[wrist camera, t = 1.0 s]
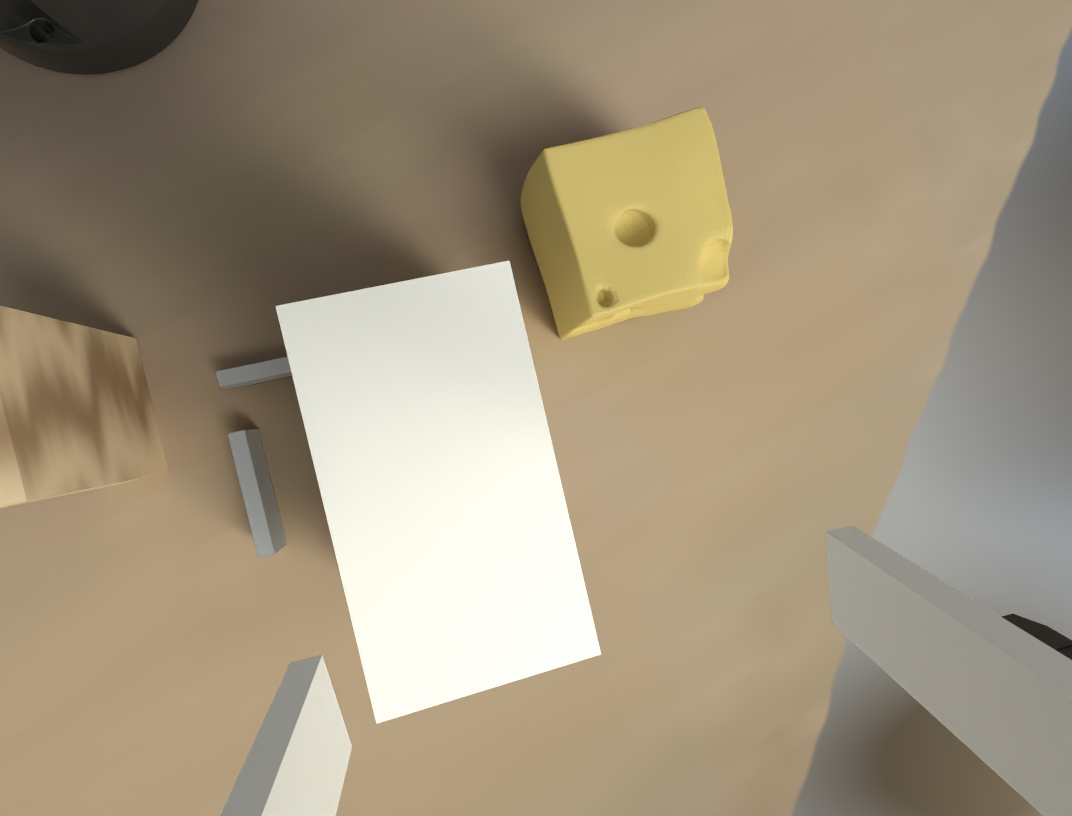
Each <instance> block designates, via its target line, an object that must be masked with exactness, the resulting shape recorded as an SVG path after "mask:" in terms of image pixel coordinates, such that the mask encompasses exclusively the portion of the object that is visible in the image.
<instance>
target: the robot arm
mask: <svg viewBox="0 0 1072 816" xmlns="http://www.w3.org/2000/svg"><path fill="white" fill-rule="evenodd" d="M197 1H198V0H0V47H1V48H2V49H4V50H5V51H7V52H9V53H10V54H12V55H14V56H16V57H18V58H20V59H22V60H24V61H26V62H29V63H31V64H34V65H37V66H40V67H43V68H46V69H50V70H54V71H59V72H65V73H74V74H98V73H107V72H113V71H117V70H122V69H125V68H128V67H131V66H134V65H136V64H139V63H141V62H143V61H145V60H147V59H149V58H151V57H152V56H154V55H156V54H157V53H159V52H160V51H161V50H163V49H164V48H165V47H166V46H168V45H169V44H170V43H171V42H172V41H173V40H174V39H175V38H176V37H177V36H178V35H179V33H180V32H181V31H182V30H183V28H184V27H185V26H186V24H187V22H188V21H189V19H190V17H191V15H192V13H193V11H194V9H195V6H196V4H197ZM826 540H827V557H828V573H829V589H830V606H831V622H832V624H834V625H835V626H836V627H837V628H838V629H839V630H840V631H841V632H842V633H843V634H845V635H846V636H847V637H848V638H849V639H850V640H851V641H852V642H853V643H854V644H856V645H857V646H858V647H859V648H860V649H861V650H862V651H863V652H864V653H865V654H866V655H868V656H869V657H870V658H871V659H872V660H873V661H874V662H875V663H876V664H878V665H879V666H880V667H881V668H882V669H883V670H884V671H885V672H886V673H887V674H889V675H890V676H891V677H892V678H893V679H894V680H895V681H896V682H897V683H898V684H899V685H900V686H902V687H903V688H904V689H905V690H906V691H907V692H908V693H909V694H910V695H911V696H913V697H914V698H915V699H916V700H917V701H918V702H919V703H921V705H922V706H924V707H925V708H926V709H927V710H928V711H929V712H930V713H931V714H932V715H933V716H935V717H936V718H937V719H938V720H939V721H940V722H941V723H942V724H943V725H944V726H945V727H947V728H948V729H949V730H950V731H951V732H952V733H953V734H954V735H955V736H956V737H957V738H959V739H960V740H961V741H962V742H963V743H964V744H965V745H966V746H967V747H968V748H970V749H971V750H972V751H973V752H974V753H975V754H976V755H977V756H978V757H979V758H981V759H982V760H983V761H984V762H985V763H986V764H987V765H988V766H989V767H990V768H992V769H993V770H994V771H995V772H996V773H997V774H998V775H999V776H1000V777H1001V778H1003V779H1004V780H1005V781H1006V782H1007V783H1008V784H1009V785H1010V786H1011V787H1013V789H1014V790H1016V791H1017V792H1018V793H1019V794H1020V795H1021V796H1022V797H1023V798H1024V799H1026V800H1027V801H1028V802H1029V803H1030V804H1031V805H1032V806H1033V807H1034V808H1035V809H1036V810H1038V811H1039V812H1040V813H1041V814H1042V815H1043V816H1072V640H1070V639H1068V638H1067V637H1065V636H1063V635H1061V634H1060V633H1058V632H1056V631H1055V630H1052V629H1051V628H1049V627H1047V626H1045V625H1042V624H1040V623H1037V622H1034V621H1031V620H1029V619H1026V618H1023V617H1020V616H1018V615H1015V614H1010V615H1006V616H1003V617H1001V616H999V615H997V614H996V613H994V612H993V611H991V610H989V609H988V608H986V607H984V606H983V605H981V604H980V603H978V602H976V601H975V600H973V599H971V598H970V597H968V596H967V595H965V594H963V593H961V592H960V591H958V590H956V589H955V588H954V587H952V586H950V585H949V584H947V583H945V582H944V581H942V580H941V579H939V578H937V577H935V576H934V575H932V574H931V573H929V572H927V571H926V570H924V569H922V568H921V567H919V566H918V565H916V564H914V563H913V562H911V561H910V560H908V559H906V558H905V557H903V556H901V555H900V554H898V553H897V552H895V551H893V550H892V549H890V548H888V547H887V546H885V545H884V544H882V543H880V542H879V541H877V540H875V539H874V538H872V537H871V536H869V535H867V534H866V533H864V532H862V531H861V530H859V529H857V528H856V527H854V526H850V527H846V528H842V529H837V530H833V531H829V532H826ZM351 749H352V745H351V742H350V739H349V736H348V733H347V730H346V727H345V724H344V721H343V718H342V715H341V711H340V708H339V705H338V702H337V699H336V696H335V693H334V690H333V687H332V684H331V681H330V678H329V674H328V671H327V668H326V665H325V662H324V659H323V656H322V655H320V656H316V657H312V658H308V659H304V660H300V661H296V662H291V663H290V664H289V666H288V669H287V671H286V673H285V675H284V677H283V680H282V682H281V684H280V686H279V688H278V691H277V693H276V695H275V697H274V699H273V702H272V704H271V706H270V708H269V710H268V713H267V715H266V717H265V719H264V721H263V724H262V726H261V728H260V730H259V732H258V735H257V737H256V739H255V741H254V743H253V746H252V748H251V750H250V752H249V754H248V757H247V759H246V761H245V763H244V765H243V768H242V770H241V772H240V774H239V776H238V779H237V781H236V783H235V785H234V787H233V790H232V792H231V794H230V796H229V798H228V801H227V803H226V805H225V807H224V809H223V812H222V814H221V816H336V812H337V808H338V804H339V799H340V795H341V791H342V787H343V783H344V778H345V774H346V770H347V766H348V762H349V757H350V753H351Z"/></svg>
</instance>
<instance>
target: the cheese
mask: <svg viewBox="0 0 1072 816" xmlns="http://www.w3.org/2000/svg"><path fill="white" fill-rule="evenodd" d="M521 210H522V214H523V218H524V222H525V226H526V229H527V233H528V236H529V240H530V243H531V246H532V249H533V252H534V255H535V258H536V260H537V263H538V266H539V269H540V272H541V275H542V278H543V281H544V284H545V287H546V290H547V294H548V297H549V301H550V304H551V308H552V312H553V315H554V319H555V323H556V327H557V330H558V334H559V337H560V339H567V338H570V337H573V336H577V335H580V334H584V333H587V332H590V331H594V330H597V329H600V328H604V327H607V326H610V325H613V324H615V323H618V322H621V321H623V320H626V319H630V318H634V317H639V316H640V317H644V316H649V315H653V314H658V313H662V312H668V311H673V310H679V309H684V308H689V307H692V306H695V305H697V304H698V303H700V302H701V301H702V300H703V299H704V294H706V293H710V292H714V291H716V290H719V289H721V288H723V287H724V286H725V285H726V284H727V282H728V279H729V270H728V254H729V250H730V246H731V241H732V237H733V224H732V216H731V211H730V207H729V203H728V198H727V193H726V188H725V183H724V178H723V173H722V167H721V162H720V157H719V152H718V147H717V142H716V138H715V134H714V131H713V127H712V124H711V122H710V119H709V117H708V114H707V112H706V110H705V108H704V107H698V108H694V109H691V110H688V111H685V112H682V113H679V114H677V115H674V116H671V117H668V118H666V119H663V120H660V121H657V122H654V123H651V124H648V125H645V126H641V127H637V128H633V129H628V130H624V131H620V132H616V133H612V134H607V135H603V136H599V137H595V138H591V139H587V140H582V141H578V142H573V143H568V144H564V145H559V146H554V147H549V148H545V149H544V150H543V151H542V152H541V154H540V155H539V157H538V158H537V160H536V161H535V162H534V164H533V165H532V167H531V168H530V170H529V172H528V174H527V176H526V179H525V182H524V186H523V189H522V194H521Z"/></svg>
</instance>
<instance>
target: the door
mask: <svg viewBox="0 0 1072 816" xmlns="http://www.w3.org/2000/svg"><path fill="white" fill-rule="evenodd" d="M164 473H169V470H168V466H167V462H166V458H165V454H164V450H163V446H162V442H161V438H160V434H159V430H158V426H157V422H156V418H155V414H154V410H153V406H152V402H151V398H150V394H149V390H148V386H147V382H146V378H145V374H144V369H143V365H142V361H141V357H140V353H139V349H138V345H137V341H136V338H133V337H128V336H124V335H120V334H116V333H112V332H108V331H104V330H99V329H95V328H91V327H87V326H83V325H79V324H75V323H70V322H66V321H62V320H58V319H54V318H50V317H46V316H41V315H37V314H33V313H29V312H25V311H21V310H17V309H12V308H8V307H4V306H0V508H4V507H9V506H14V505H19V504H24V503H29V502H34V501H39V500H44V499H49V498H53V497H58V496H63V495H68V494H73V493H78V492H83V491H88V490H93V489H98V488H103V487H107V486H112V485H117V484H121V483H125V482H130V481H134V480H138V479H143V478H147V477H151V476H156V475H160V474H164Z"/></svg>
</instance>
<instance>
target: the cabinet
mask: <svg viewBox="0 0 1072 816" xmlns="http://www.w3.org/2000/svg"><path fill="white" fill-rule="evenodd" d="M276 311H277V315H278V319H279V323H280V327H281V331H282V335H283V339H284V344H285V348H286V352H287V356H288V357H283V358H278V359H274V360H269V361H264V362H259V363H254V364H250V365H245V366H240V367H235V368H230V369H226V370H221V371H216V375H217V379H218V383H219V387H223V388H232V389H233V388H237V387H242V386H247V385H251V384H256V383H261V382H265V381H270V380H275V379H280V378H284V377H289V376H292V377H293V381H294V385H295V389H296V393H297V397H298V401H299V406H300V410H301V414H302V418H303V422H304V426H305V430H306V434H307V439H308V443H309V447H310V451H311V455H312V459H313V463H314V468H315V472H316V476H317V480H318V484H319V488H320V492H321V496H322V501H323V505H324V509H325V513H326V517H327V521H328V525H329V529H330V534H331V538H332V542H333V546H334V550H335V554H336V558H337V563H338V567H339V571H340V575H341V579H342V583H343V587H344V591H345V596H346V600H347V604H348V608H349V612H350V616H351V620H352V624H353V629H354V633H355V637H356V641H357V645H358V649H359V653H360V658H361V662H362V666H363V670H364V674H365V678H366V682H367V686H368V691H369V695H370V699H371V703H372V707H373V711H374V715H375V719H376V724H377V723H381V722H384V721H387V720H390V719H394V718H397V717H400V716H403V715H406V714H410V713H413V712H416V711H419V710H423V709H426V708H429V707H432V706H436V705H439V704H442V703H445V702H449V701H452V700H455V699H458V698H461V697H465V696H468V695H471V694H474V693H478V692H481V691H484V690H487V689H491V688H494V687H497V686H500V685H504V684H507V683H510V682H513V681H516V680H520V679H523V678H526V677H529V676H533V675H536V674H539V673H542V672H546V671H549V670H552V669H555V668H559V667H562V666H565V665H568V664H571V663H575V662H578V661H581V660H584V659H588V658H591V657H594V656H597V655H601V652H600V647H599V643H598V639H597V635H596V630H595V626H594V622H593V617H592V613H591V609H590V604H589V600H588V596H587V592H586V587H585V583H584V579H583V574H582V570H581V566H580V562H579V557H578V553H577V549H576V544H575V540H574V536H573V531H572V527H571V523H570V519H569V514H568V510H567V506H566V501H565V497H564V493H563V489H562V484H561V480H560V476H559V471H558V467H557V463H556V458H555V454H554V450H553V446H552V441H551V437H550V433H549V428H548V424H547V420H546V415H545V411H544V407H543V403H542V398H541V394H540V390H539V385H538V381H537V377H536V373H535V368H534V364H533V360H532V355H531V351H530V347H529V342H528V338H527V334H526V330H525V325H524V321H523V317H522V312H521V308H520V304H519V299H518V295H517V291H516V287H515V282H514V278H513V274H512V269H511V265H510V261H504V262H499V263H494V264H489V265H484V266H479V267H474V268H468V269H463V270H458V271H453V272H448V273H443V274H438V275H432V276H427V277H422V278H417V279H412V280H407V281H402V282H396V283H391V284H386V285H381V286H376V287H371V288H366V289H360V290H355V291H350V292H345V293H340V294H335V295H330V296H324V297H319V298H314V299H309V300H304V301H299V302H294V303H288V304H283V305H278V306H276ZM228 437H229V441H230V446H231V450H232V454H233V458H234V462H235V466H236V470H237V474H238V478H239V482H240V486H241V490H242V495H243V499H244V503H245V507H246V511H247V515H248V519H249V523H250V527H251V531H252V535H253V539H254V543H255V548H256V552H257V556H258V558H261V557H265V556H269V555H273V554H275V553H277V552H278V551H279V550H281V549H282V548H283V547H284V546H286V545H287V543H286V539H285V535H284V531H283V527H282V523H281V519H280V515H279V511H278V506H277V502H276V498H275V494H274V490H273V486H272V482H271V478H270V474H269V470H268V465H267V461H266V457H265V453H264V449H263V445H262V441H261V437H260V433H259V429H250V430H242V431H237V432H233V433H228Z"/></svg>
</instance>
